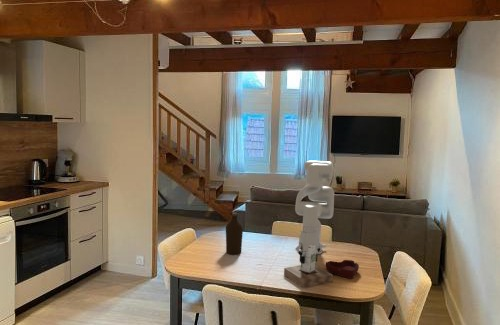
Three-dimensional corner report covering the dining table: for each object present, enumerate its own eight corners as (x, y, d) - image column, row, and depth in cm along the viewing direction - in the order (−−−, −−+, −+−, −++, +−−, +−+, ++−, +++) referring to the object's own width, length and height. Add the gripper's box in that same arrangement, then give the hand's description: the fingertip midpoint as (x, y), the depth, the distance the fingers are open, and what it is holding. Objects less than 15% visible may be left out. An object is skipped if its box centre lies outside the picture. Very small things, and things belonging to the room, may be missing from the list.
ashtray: (337, 281, 203) (337, 272, 202) (322, 269, 218) (323, 261, 218) (367, 278, 208) (367, 269, 207) (351, 267, 223) (351, 258, 223)
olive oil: (232, 256, 236) (232, 215, 233) (221, 251, 244) (222, 212, 241) (245, 253, 242) (246, 213, 240) (235, 248, 251) (236, 210, 248)
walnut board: (311, 270, 217) (311, 263, 216) (332, 282, 201) (332, 274, 201) (284, 275, 209) (284, 267, 208) (303, 288, 193) (303, 280, 192)
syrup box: (306, 267, 208) (307, 240, 207) (315, 270, 205) (316, 243, 203) (300, 270, 204) (301, 243, 202) (310, 273, 200) (311, 245, 199)
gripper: (318, 225, 209) (317, 257, 211) (291, 228, 201) (290, 261, 203) (327, 228, 203) (326, 261, 205) (300, 232, 195) (298, 266, 196)
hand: (308, 261), depth 204 cm, fingers closed on syrup box, 7 cm apart
